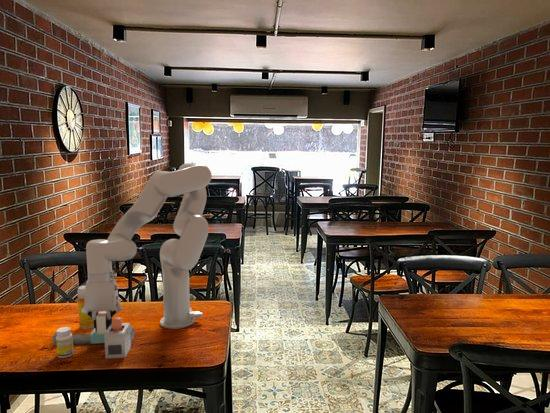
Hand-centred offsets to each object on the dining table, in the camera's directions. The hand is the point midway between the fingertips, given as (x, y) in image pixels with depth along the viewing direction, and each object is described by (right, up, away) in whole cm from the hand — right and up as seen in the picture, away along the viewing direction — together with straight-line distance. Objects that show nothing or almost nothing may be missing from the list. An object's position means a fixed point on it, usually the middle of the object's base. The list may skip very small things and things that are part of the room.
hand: (103, 329), depth 147 cm
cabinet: (+8, -5, -8) cm, 12 cm away
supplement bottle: (-8, -6, -9) cm, 14 cm away
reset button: (+8, +2, -9) cm, 12 cm away
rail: (-3, -4, 0) cm, 5 cm away
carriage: (0, -4, +1) cm, 4 cm away
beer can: (-10, -3, +13) cm, 16 cm away
